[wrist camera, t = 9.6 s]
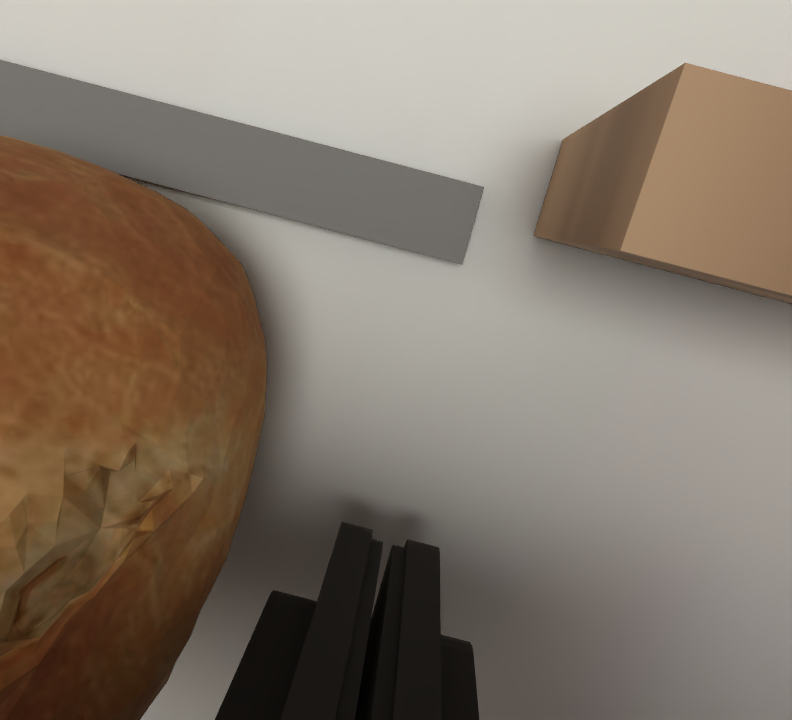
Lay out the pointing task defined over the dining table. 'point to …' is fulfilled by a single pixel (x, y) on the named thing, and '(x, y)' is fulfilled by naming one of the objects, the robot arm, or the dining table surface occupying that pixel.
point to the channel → (684, 182)
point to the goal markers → (240, 163)
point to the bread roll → (113, 432)
